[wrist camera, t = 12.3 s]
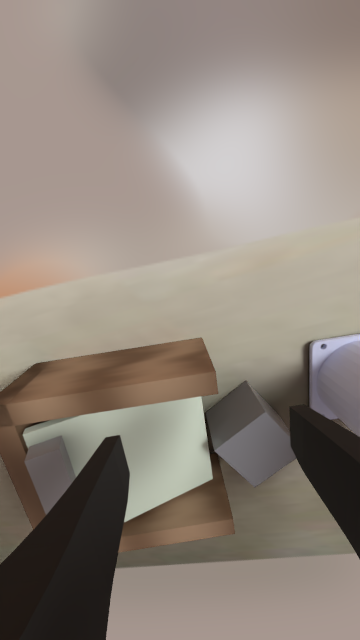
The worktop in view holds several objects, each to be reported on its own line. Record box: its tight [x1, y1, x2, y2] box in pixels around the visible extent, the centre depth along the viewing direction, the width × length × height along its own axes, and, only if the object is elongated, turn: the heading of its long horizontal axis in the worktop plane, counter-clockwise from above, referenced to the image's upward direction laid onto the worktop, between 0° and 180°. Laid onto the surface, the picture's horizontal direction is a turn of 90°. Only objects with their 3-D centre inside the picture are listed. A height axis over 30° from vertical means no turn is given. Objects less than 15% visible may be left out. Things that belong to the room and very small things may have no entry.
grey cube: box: [206, 381, 296, 487], centre depth 20 cm, size 4×5×5 cm
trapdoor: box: [23, 396, 213, 522], centre depth 17 cm, size 12×10×2 cm
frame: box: [0, 338, 235, 552], centre depth 19 cm, size 14×14×6 cm
